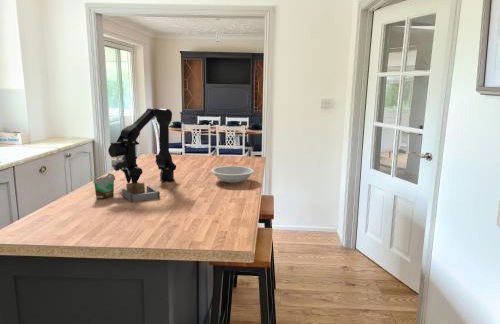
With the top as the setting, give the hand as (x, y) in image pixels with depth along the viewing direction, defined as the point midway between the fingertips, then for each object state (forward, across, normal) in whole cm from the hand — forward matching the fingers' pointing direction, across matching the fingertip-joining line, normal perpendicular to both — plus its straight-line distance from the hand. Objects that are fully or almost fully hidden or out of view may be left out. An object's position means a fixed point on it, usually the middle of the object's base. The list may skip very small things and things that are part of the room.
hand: (131, 184), depth 184 cm
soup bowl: (+3, +11, +53) cm, 54 cm away
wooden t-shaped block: (+3, +10, 0) cm, 10 cm away
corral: (+3, +14, 0) cm, 14 cm away
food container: (+3, +7, -13) cm, 15 cm away
